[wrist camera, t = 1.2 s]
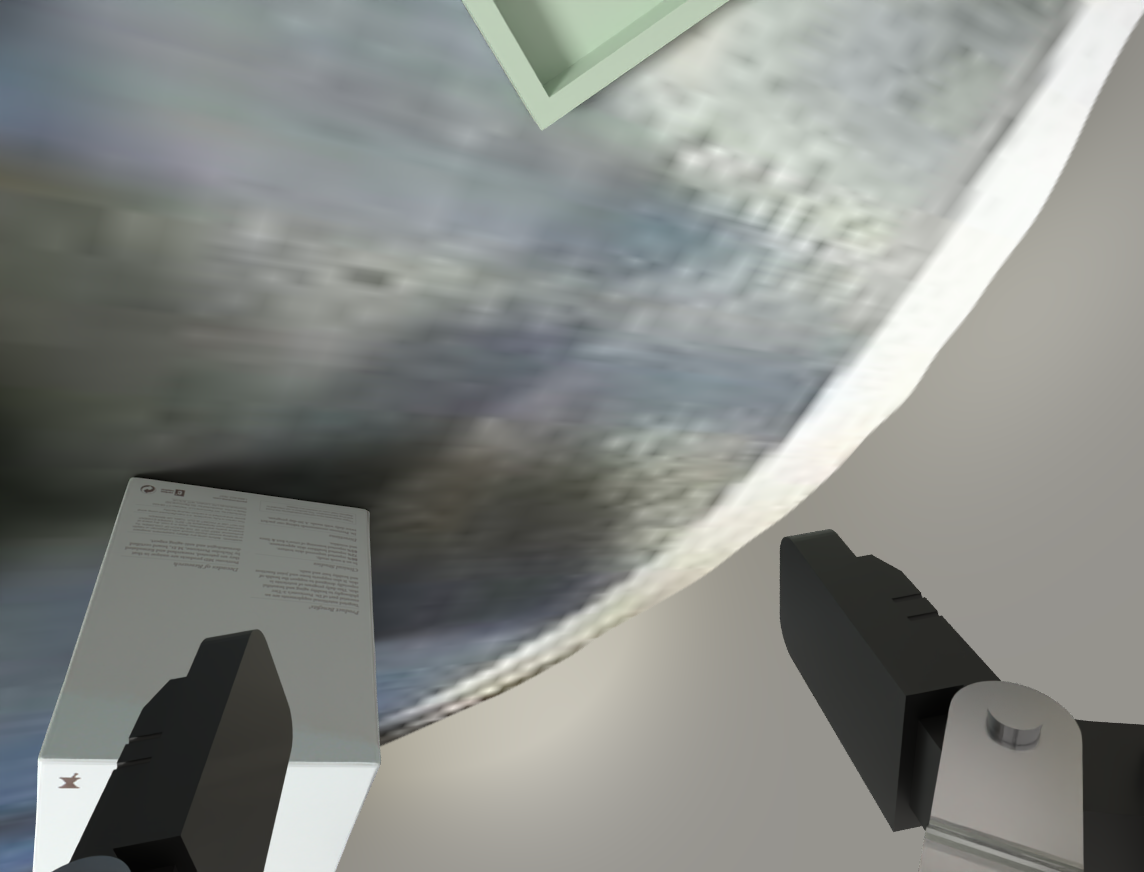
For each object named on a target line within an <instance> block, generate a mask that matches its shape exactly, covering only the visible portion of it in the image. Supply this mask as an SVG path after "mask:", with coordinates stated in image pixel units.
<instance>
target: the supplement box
mask: <svg viewBox="0 0 1144 872" xmlns="http://www.w3.org/2000/svg"><path fill="white" fill-rule="evenodd" d="M369 523H370V512H369V511H367V510H365V509H360V508H353V507H346V506H339V505H331V504H324V503H317V502H309V501H302V500H296V499H288V498H281V497H274V496H267V495H260V494H253V493H246V492H239V491H231V490H223V489H216V488H209V487H202V486H195V485H188V484H181V483H174V482H166V481H159V480H152V479H144V478H133V477H132V478H130V480H129V482H128V485H127V488H126V491H125V494H124V497H123V500H122V503H121V506H120V509H119V513H118V516H117V519H116V522H115V525H114V528H113V531H112V535H111V538H110V541H109V544H108V547H107V550H106V553H105V556H104V559H103V562H102V565H101V568H100V571H99V575H98V578H97V581H96V584H95V587H94V590H93V593H92V596H91V599H90V603H89V606H88V609H87V612H86V615H85V618H84V621H83V624H82V627H81V630H80V634H79V637H78V640H77V643H76V646H75V649H74V652H73V655H72V658H71V662H70V665H69V668H68V671H67V674H66V677H65V680H64V683H63V686H62V689H61V692H60V695H59V698H58V701H57V704H56V707H55V710H54V712H53V715H52V718H51V721H50V724H49V727H48V730H47V733H46V736H45V739H44V742H43V745H42V748H41V751H40V754H39V757H38V784H37V816H36V831H35V846H34V862H33V872H52V871H54V870H55V869H57V868H59V867H61V866H64V865H66V864H68V863H69V862H70V860H71V857H72V855H73V853H74V851H75V849H76V847H77V845H78V843H79V841H80V839H81V837H82V834H83V832H84V830H85V828H86V826H87V824H88V822H89V820H90V818H91V816H92V814H93V811H94V809H95V807H96V805H97V803H98V801H99V799H100V797H101V795H102V793H103V790H104V788H105V786H106V784H107V782H108V780H109V778H110V776H111V774H112V772H113V770H114V769H117V761H118V759H119V757H120V755H121V753H122V751H123V749H124V746H125V744H129V736H130V734H131V732H132V730H133V728H134V726H135V723H136V721H137V719H138V717H139V715H140V713H141V711H142V709H143V707H144V706H145V705H146V704H147V703H148V702H149V701H150V700H151V699H152V698H153V697H154V696H155V695H156V694H157V693H158V692H159V691H160V690H161V688H162V687H163V686H164V685H165V684H166V683H167V682H168V681H169V680H170V679H176V678H181V677H187V674H188V672H189V670H190V667H191V665H192V663H193V660H194V658H195V656H196V653H197V651H198V649H199V646H200V644H201V643H202V641H203V640H204V639H205V638H209V637H215V636H220V635H226V634H232V633H237V632H243V631H249V630H254V629H258V630H260V631H261V632H262V633H263V635H264V637H265V639H266V641H267V644H268V647H269V650H270V652H271V655H272V658H273V661H274V664H275V667H276V670H277V672H278V675H279V678H280V681H281V684H282V687H283V690H284V693H285V695H286V698H287V701H288V704H289V707H290V712H291V717H292V727H293V741H292V749H291V754H290V759H289V763H288V767H287V772H286V776H285V780H284V785H283V789H282V793H281V798H280V802H279V807H278V811H277V815H276V820H275V824H274V828H273V833H272V837H271V842H270V846H269V850H268V855H267V859H266V863H265V868H264V872H335V870H336V868H337V865H338V863H339V860H340V858H341V855H342V853H343V851H344V848H345V845H346V842H347V840H348V838H349V835H350V833H351V831H352V829H353V826H354V824H355V822H356V820H357V817H358V815H359V813H360V810H361V808H362V806H363V803H364V801H365V799H366V796H367V794H368V792H369V790H370V787H371V785H372V783H373V781H374V778H375V776H376V774H377V771H378V769H379V767H380V764H381V755H380V741H379V724H378V707H377V690H376V666H375V644H374V623H373V604H372V578H371V555H370V529H369Z"/></svg>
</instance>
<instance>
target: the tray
mask: <svg viewBox="0 0 1144 872" xmlns="http://www.w3.org/2000/svg"><path fill="white" fill-rule="evenodd" d="M461 1H462V2H463V4H464V6H465V7H466V9H467V11H468V12H469V14H470V16H471V17H472V19H473V21H474V22H475V24H476V26H477V27H478V29H479V31H480V32H481V34H482V36H483V37H484V39H485V41H486V42H487V44H488V45H489V47H490V49H491V50H492V52H493V54H494V55H495V57H496V59H497V60H498V62H499V64H500V65H501V67H502V69H503V70H504V72H505V74H506V75H507V77H508V79H509V80H510V82H511V84H512V85H513V87H514V89H515V90H516V92H517V93H518V95H519V97H520V98H521V100H522V102H523V103H524V105H525V107H526V108H527V110H528V112H529V113H530V115H531V117H532V118H533V119H534V121H535V122H536V123H537V125H538V126H539V127H540V129H541V130H544V129H545V128H547V127H548V126H549V125H551V124H552V123H554V122H555V121H557V120H558V119H560V118H561V117H562V116H564V115H565V114H567V113H568V112H570V111H571V110H572V109H574V108H575V107H577V106H578V105H580V104H581V103H583V102H584V101H585V100H587V99H588V98H590V97H591V96H593V95H594V94H595V93H597V92H598V91H600V90H601V89H603V88H604V87H606V86H607V85H608V84H610V83H611V82H613V81H614V80H616V79H617V78H618V77H620V76H621V75H623V74H624V73H626V72H627V71H628V70H630V69H631V68H633V67H634V66H636V65H637V64H639V63H640V62H641V61H643V60H644V59H646V58H647V57H649V56H650V55H651V54H653V53H654V52H656V51H657V50H659V49H660V48H662V47H663V46H664V45H666V44H667V43H669V42H670V41H672V40H673V39H674V38H676V37H677V36H679V35H680V34H682V33H683V32H685V31H686V30H687V29H689V28H690V27H692V26H693V25H695V24H696V23H697V22H699V21H700V20H702V19H703V18H705V17H706V16H707V15H709V14H710V13H712V12H713V11H715V10H716V9H718V8H719V7H720V6H722V5H723V4H725V3H726V2H728V1H729V0H461Z"/></svg>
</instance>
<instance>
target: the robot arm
mask: <svg viewBox="0 0 1144 872" xmlns="http://www.w3.org/2000/svg"><path fill="white" fill-rule="evenodd" d="M780 622H781V629H782V634H783V638H784V641H785V644H786V647H787V650H788V652H789V654H790V656H791V658H792V660H793V662H794V663H795V665H796V667H797V668H798V670H799V672H800V673H801V675H802V677H803V679H804V680H805V682H806V684H807V685H808V687H809V689H810V691H811V692H812V694H813V696H814V697H815V699H816V700H817V702H818V704H819V706H820V707H821V709H822V711H823V713H824V714H825V716H826V718H827V719H828V721H829V722H830V724H831V726H832V728H833V730H834V731H835V733H836V735H837V736H838V738H839V740H840V742H841V743H842V745H843V747H844V748H845V750H846V752H847V754H848V755H849V757H850V758H851V760H852V762H853V763H854V765H855V767H856V769H857V771H858V772H859V774H860V775H861V777H862V779H863V781H864V782H865V784H866V786H867V787H868V789H869V791H870V793H871V794H872V796H873V798H874V799H875V801H876V803H877V805H878V806H879V808H880V810H881V811H882V813H883V815H884V817H885V818H886V820H887V822H888V823H889V825H890V827H891V828H892V830H893V832H895V831H900V830H905V829H910V828H914V827H919V826H923V828H924V830H925V831H926V832H925V837H924V842H923V848H922V853H921V859H920V865H919V870H918V872H1144V725H1139V724H1123V723H1108V722H1093V721H1083V720H1076V719H1074V718H1073V716H1072V715H1071V714H1070V713H1069V712H1068V711H1067V710H1066V709H1065V708H1064V707H1063V706H1061V705H1060V704H1059V703H1058V702H1056V701H1055V700H1053V699H1052V698H1050V697H1049V696H1047V695H1045V694H1043V693H1041V692H1039V691H1037V690H1034V689H1032V688H1030V687H1026V686H1023V685H1019V684H1016V683H1011V682H1004V681H1001V680H1000V679H999V678H998V677H997V676H996V675H995V674H994V673H993V671H991V669H990V668H989V667H988V666H987V665H986V664H985V663H984V662H983V660H982V659H981V658H980V657H979V656H978V655H977V654H976V653H975V652H974V651H973V649H972V648H971V647H970V646H969V645H968V644H967V643H966V642H965V641H964V640H963V638H962V637H961V636H960V635H959V634H958V633H957V632H956V631H955V630H954V629H953V627H952V626H951V625H950V624H949V623H948V622H947V621H946V620H945V619H944V618H943V616H939V615H938V612H937V610H936V609H935V608H934V607H933V605H931V603H930V602H929V601H928V600H927V599H926V598H925V597H924V598H922V596H921V592H920V591H919V590H918V589H917V588H916V587H915V586H914V585H913V584H912V582H911V581H910V580H909V579H908V578H907V577H906V576H905V575H904V574H903V572H902V571H900V570H898V569H897V568H895V567H893V566H891V565H889V564H887V563H886V562H884V561H882V560H880V559H878V558H876V557H875V556H873V555H866V556H862V557H856V556H855V555H854V553H852V551H851V550H850V549H849V548H848V546H847V545H846V544H845V543H844V542H843V541H842V539H841V538H840V537H839V536H838V535H837V533H836V532H834V531H833V530H831V529H828V530H822V531H816V532H811V533H805V534H800V535H794V536H788V537H784V538H783V539H782V541H781V545H780ZM292 741H293V727H292V717H291V712H290V707H289V704H288V701H287V698H286V695H285V693H284V690H283V687H282V684H281V681H280V678H279V675H278V672H277V670H276V667H275V664H274V661H273V658H272V655H271V652H270V650H269V647H268V644H267V641H266V639H265V637H264V635H263V633H262V632H261V631H260V630H258V629H254V630H249V631H243V632H237V633H232V634H226V635H220V636H215V637H209V638H205V639H204V640H203V641H202V643H201V644H200V646H199V649H198V651H197V653H196V656H195V658H194V660H193V663H192V665H191V667H190V670H189V672H188V674H187V677H181V678H176V679H170V680H169V681H168V682H167V683H166V684H165V685H164V686H163V687H162V688H161V690H160V691H159V692H158V693H157V694H156V695H155V696H154V697H153V698H152V699H151V700H150V701H149V702H148V703H147V704H146V705H145V706H144V707H143V709H142V711H141V713H140V715H139V717H138V719H137V721H136V723H135V726H134V728H133V730H132V732H131V734H130V736H129V744H125V746H124V749H123V751H122V753H121V755H120V757H119V759H118V761H117V769H114V770H113V772H112V774H111V776H110V778H109V780H108V782H107V784H106V786H105V788H104V790H103V793H102V795H101V797H100V799H99V801H98V803H97V805H96V807H95V809H94V811H93V814H92V816H91V818H90V820H89V822H88V824H87V826H86V828H85V830H84V832H83V834H82V837H81V839H80V841H79V843H78V845H77V847H76V849H75V851H74V853H73V855H72V857H71V860H70V862H69V863H68V864H66V865H64V866H61V867H59V868H57V869H55V870H54V871H52V872H264V868H265V863H266V859H267V855H268V850H269V846H270V842H271V837H272V833H273V828H274V824H275V820H276V815H277V811H278V807H279V802H280V798H281V793H282V789H283V785H284V780H285V776H286V772H287V767H288V763H289V759H290V754H291V749H292Z"/></svg>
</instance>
